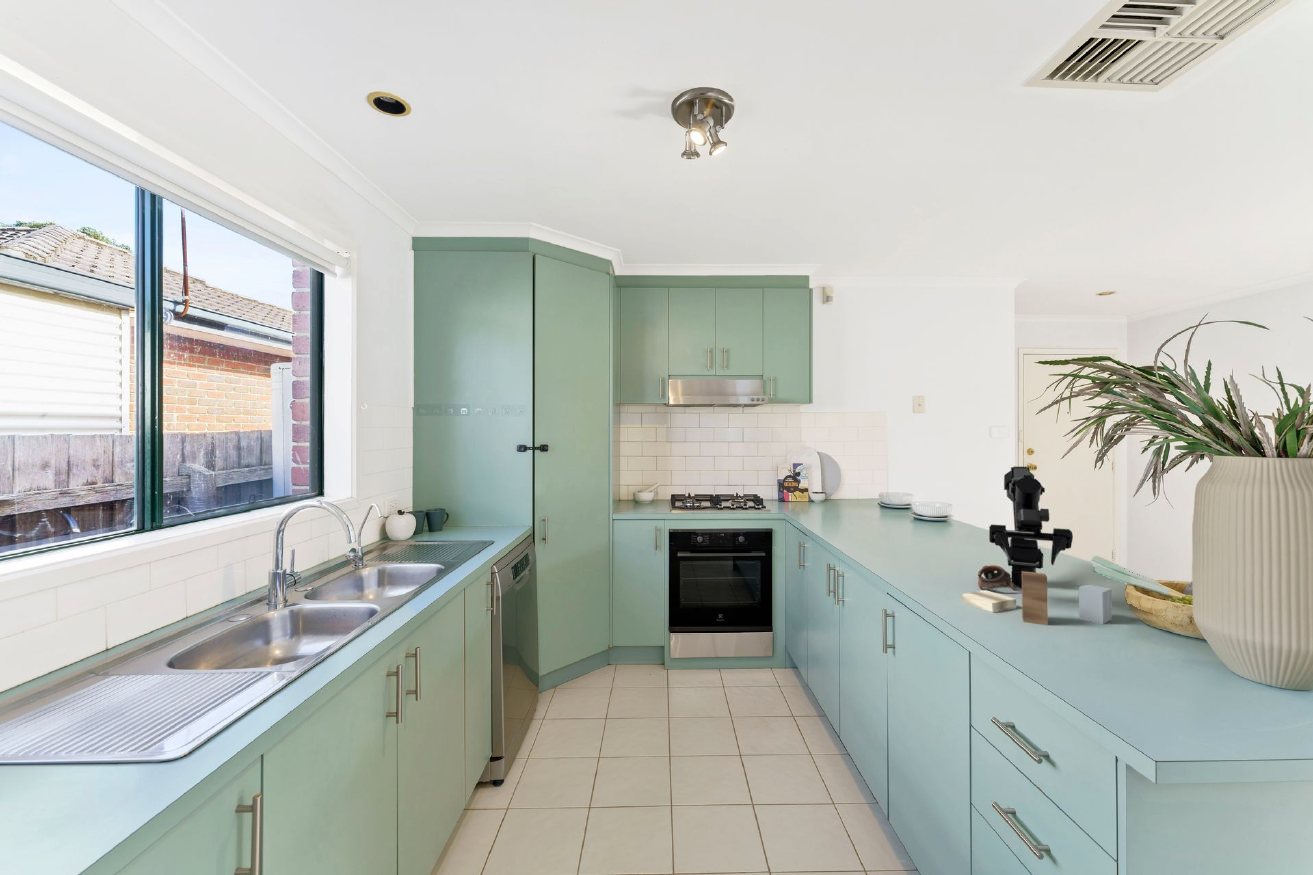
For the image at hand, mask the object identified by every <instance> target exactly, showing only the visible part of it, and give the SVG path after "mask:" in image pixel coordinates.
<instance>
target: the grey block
mask: <svg viewBox="0 0 1313 875" xmlns="http://www.w3.org/2000/svg"><path fill="white" fill-rule="evenodd" d="M1112 609H1113V608H1112V588H1108V587H1102V586H1098V585H1094V584H1093V585H1092V584H1085V585H1081V586H1079V587H1078V618H1079V619H1081V620H1085V621H1088V622H1092V621H1093V623H1096V624H1100V623H1102V624H1101V625H1104V624H1106V622H1107V621H1109V622H1110V620H1111V619H1112V620H1113V616H1112V615H1113V614H1112V611H1113V610H1112ZM1112 620H1111V621H1112ZM1103 623H1104V624H1103ZM1107 623H1108V622H1107Z"/></svg>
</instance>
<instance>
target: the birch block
mask: <svg viewBox="0 0 1313 875" xmlns="http://www.w3.org/2000/svg"><path fill="white" fill-rule="evenodd" d="M962 603H963V604H964V605H967V604H968V606H971V607H973V606H974V608H976V607H977V608H976V609H979V608H981V609H980V610H982V609H983V610H984V611H985V610H987V611H986V612H988V611H989V612H988V613H992V614H993V613H998V611H1000V612H1004V611H1003V610H1005V611H1009V610H1014V609H1017V598H1015V597H1012V596H1011V597H1010V596H1007V595H1004V594H1002V593H1001V594H1000V593H998V592H994V591H989V590H987V589H984V590H983V589H982V590H978V591H972V592H971V591H970V592H966V593H962Z"/></svg>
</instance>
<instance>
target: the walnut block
mask: <svg viewBox="0 0 1313 875" xmlns="http://www.w3.org/2000/svg"><path fill="white" fill-rule="evenodd" d="M1021 606H1022V607H1021V609H1022V610H1021V615H1022V616H1021V617H1022V621H1023V623H1028V624H1036V625H1043V626H1049V619H1048V618H1049V617H1048V614H1049V613H1048V577H1047V574H1046V573H1043V572H1036V573H1034V572H1024V571H1022V588H1021Z"/></svg>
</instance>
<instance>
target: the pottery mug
mask: <svg viewBox="0 0 1313 875" xmlns="http://www.w3.org/2000/svg"><path fill="white" fill-rule="evenodd" d="M982 575H983V576H984V577H983V576H982ZM977 576H978V577H977V578H978V580H977V581H978V582H977V584H978V588H979V589H980V591H983V588H986V589H988V588H990V589H993V588H995V587H996V588H998V587H1009V588H1010V589H1012V592H1013V591H1016V589H1015V587H1016V586H1014V584H1013V582H1012V577H1011V574H1010V572H1008V571H1006V570H1005V568H1003V567H1001V566H999V565H996V564H995V565H993V564H992V565H991V564H990V565H984V566H982V568H981V569H979V571H978V573H977Z"/></svg>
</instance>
